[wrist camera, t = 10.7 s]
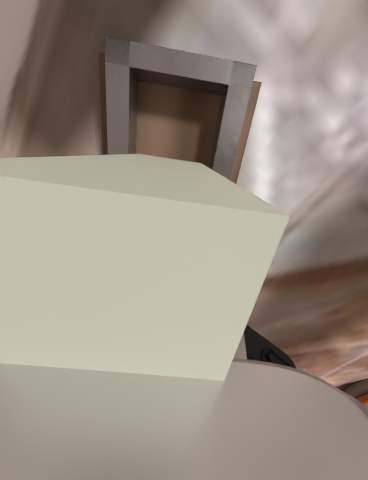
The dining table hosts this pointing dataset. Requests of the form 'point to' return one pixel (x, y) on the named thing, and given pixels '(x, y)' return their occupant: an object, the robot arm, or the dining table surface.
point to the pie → (358, 391)
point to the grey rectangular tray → (176, 105)
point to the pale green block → (129, 264)
